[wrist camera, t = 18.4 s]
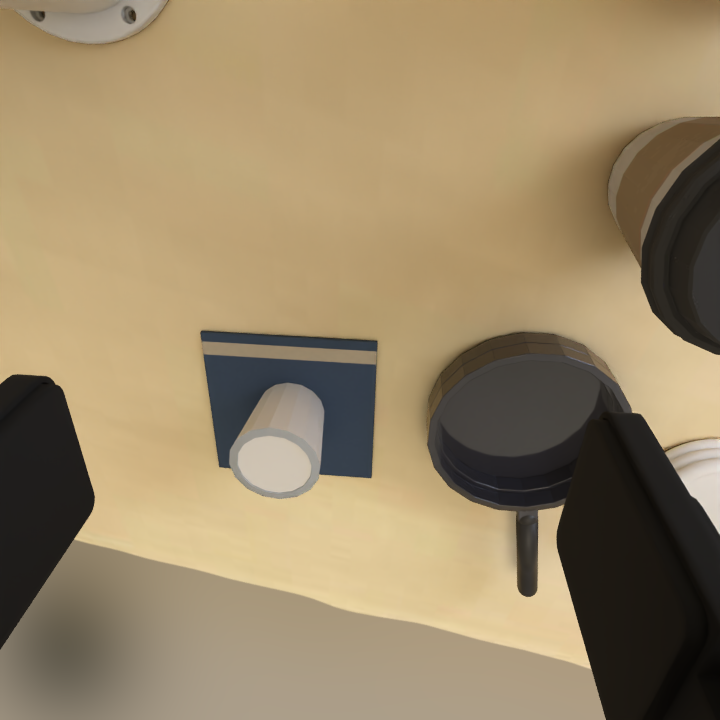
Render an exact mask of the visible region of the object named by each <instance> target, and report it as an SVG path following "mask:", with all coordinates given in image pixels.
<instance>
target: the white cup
mask: <svg viewBox="0 0 720 720" xmlns="http://www.w3.org/2000/svg"><path fill="white" fill-rule="evenodd" d="M323 424H324V408H323V405H322V402H321V400H320V399H319V398H318V396H317V395H316V394H315V393H314V392H313V391H312V390H310V389H308V388H306V387H304V386H302V385H299V384H293V383H283V384H277V385H274V386H273V387H271V388H269V389H268V390H266V391H265V392H264V394H263V396H262V397H261V399H260V400H259V402H258V404H257V405H256V407H255V409H254V410H253V412H252V414H251V416H250V417H249V419H248V421H247V422H246V424H245V426H244V427H243V429H242V431H241V432H240V434H239V436H238V437H237V439H236V441H235V442H234V444H233V446H232V447H231V449H230V459H229V464H230V467H231V469H232V471H233V473H234V475H235V477H236V478H237V479H238V480H239V481H240V482H241V483H242V484H243V485H244V486H245V487H246V488H247V489H249V490H251V491H253V492H255V493H257V494H260V495H262V496H265V497H271V498H277V499H284V498H291V497H297V496H299V495H301V494H303V493H305V492H307V491H309V490H310V489H311V488H312V487H313V485H314V484H315V483H316V481H317V480H318V478H319V471H320V464H321V451H322V437H323Z"/></svg>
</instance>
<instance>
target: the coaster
mask: <svg viewBox="0 0 720 720" xmlns="http://www.w3.org/2000/svg"><path fill="white" fill-rule="evenodd" d="M665 454H666V455H667V457H668V459H669V460H670V462H671V464H672V465H673V467H674V469H675V470H676V472H677V474H678V475H679V477H680V478H681V480H682V482H683V483H684V485H685V487H686V488H687V490H688V492H689V493H690V495H691V496H692V497H694V498H696V499H697V500H698V502H699V503H700V504H701V505H702V507H703V508H704V510H705V512H706V513H707V515H708V516H709V518H710V520H711V521H712V523H713V524H714V526H715V528H716V529H717V531H718V533H719V534H720V439H706V440H698V441H693V442H689V443H685V444H682V445H679V446H677V447H674V448H672V449H670V450H668V451H666V452H665Z"/></svg>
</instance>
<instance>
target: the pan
mask: <svg viewBox="0 0 720 720" xmlns="http://www.w3.org/2000/svg"><path fill="white" fill-rule="evenodd" d="M603 412H621V413H632V410H631V407H630V405H629V403H628V401H627V399H626V397H625V396H624V394H623V392H622V390H621V388H620V386H619V385H618V383H617V381H616V380H615V378H614V376H613V375H612V373H611V371H610V369H609V368H608V366H607V364H606V363H605V362H604V361H603V360H602V359H600V358H599V357H598V356H597V355H595V354H594V353H593V352H592V351H591V350H589V349H588V348H587V347H586V346H584V345H582V344H580V343H577V342H574V341H571V340H568V339H566V338H563V337H560V336H557V335H554V334H539V333H517V334H513V335H508V336H504V337H499V338H494V339H490V340H488V341H486V342H484V343H482V344H480V345H478V346H477V347H475V348H473V349H471V350H469V351H467V352H465V353H463V354H462V355H460V356H459V357H458V358H457V359H456V360H455V361H454V362H453V363H452V364H451V365H450V366H449V367H448V368H447V369H446V370H445V371H444V372H443V373H442V374H441V375H440V377H439V379H438V381H437V383H436V385H435V387H434V389H433V391H432V392H431V394H430V396H429V401H428V411H427V421H426V422H427V445H428V449H429V452H430V455H431V459H432V462H433V465H434V468H435V469H436V471H437V472H438V473H439V474H440V476H441V477H442V478H443V480H444V481H445V482H446V483H447V485H448V486H449V487H450V488H452V489H453V490H455V491H456V492H458V493H459V494H461V495H462V496H464V497H465V498H467V499H468V500H470V501H472V502H475V503H478V504H481V505H484V506H487V507H490V508H493V509H498V510H507V511H522V510H523V509H524V510H523V512H526V509H527V510H528V509H529V510H528V511H534V510H543V509H549V508H555V507H559V506H561V505H564V504H565V501H566V497H567V494H568V491H569V487H570V484H571V480H572V477H573V473H574V470H575V466H576V463H577V459H578V456H579V452H580V449H581V446H582V442H583V439H584V435H585V432H586V428H587V425H588V423H589V421H590V420H592V419H599V417H600V415H601V414H602V413H603ZM520 509H521V510H520Z"/></svg>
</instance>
